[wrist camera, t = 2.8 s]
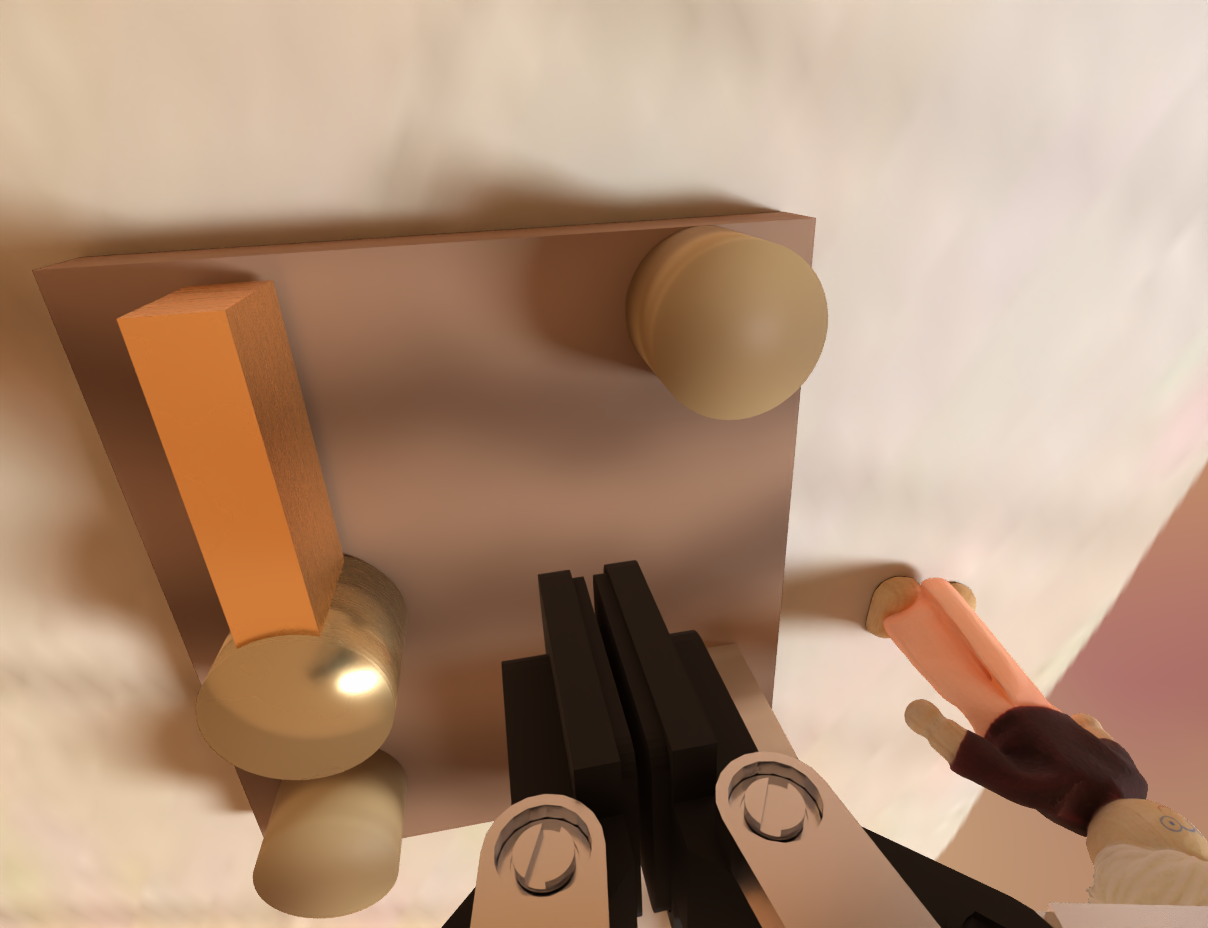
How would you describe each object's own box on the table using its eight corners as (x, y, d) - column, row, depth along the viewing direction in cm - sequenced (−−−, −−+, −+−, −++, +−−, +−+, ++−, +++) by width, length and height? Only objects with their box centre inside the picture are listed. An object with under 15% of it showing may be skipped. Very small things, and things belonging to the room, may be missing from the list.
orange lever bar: (419, 666, 20) (408, 762, 17) (267, 689, 20) (227, 794, 16) (334, 274, 15) (297, 307, 12) (126, 288, 14) (28, 327, 11)
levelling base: (81, 256, 16) (-370, 377, 7) (783, 211, 19) (1048, 262, 10) (288, 811, 25) (190, 1160, 16) (746, 728, 27) (872, 993, 19)
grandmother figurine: (1007, 561, 26) (1421, 880, 15) (975, 640, 27) (1327, 981, 16) (827, 566, 24) (1134, 926, 13) (804, 649, 26) (1061, 1033, 15)
